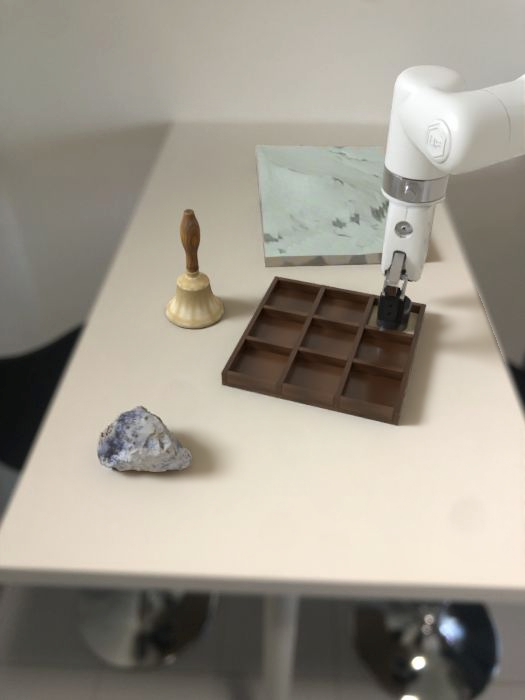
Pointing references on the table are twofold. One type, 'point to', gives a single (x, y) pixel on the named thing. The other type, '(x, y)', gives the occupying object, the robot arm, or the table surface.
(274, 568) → the table surface
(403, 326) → the dark grey cylinder
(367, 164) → the decorative slab
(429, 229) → the robot arm
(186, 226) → the hand bell
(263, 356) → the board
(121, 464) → the mineral specimen
